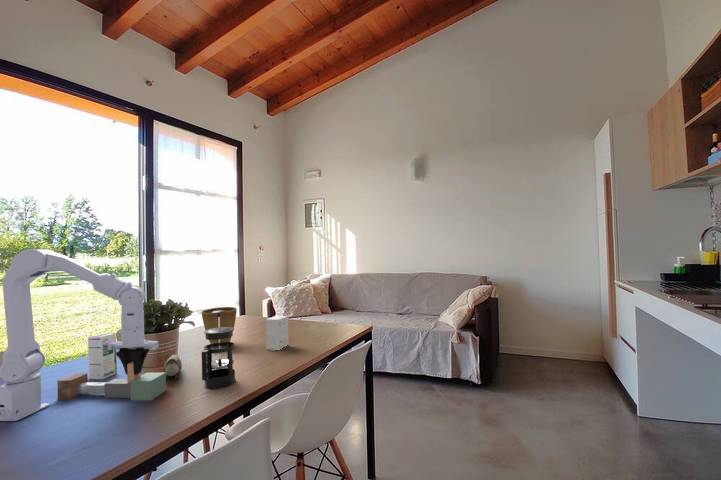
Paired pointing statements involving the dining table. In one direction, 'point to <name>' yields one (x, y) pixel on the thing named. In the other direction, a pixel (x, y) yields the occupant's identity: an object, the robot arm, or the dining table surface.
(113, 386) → the stand with post
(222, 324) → the plant pot
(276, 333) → the small box
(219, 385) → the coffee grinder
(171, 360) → the decorative bird
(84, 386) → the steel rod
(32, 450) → the dining table surface
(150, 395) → the socket block
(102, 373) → the syrup box
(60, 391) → the brown wooden block
